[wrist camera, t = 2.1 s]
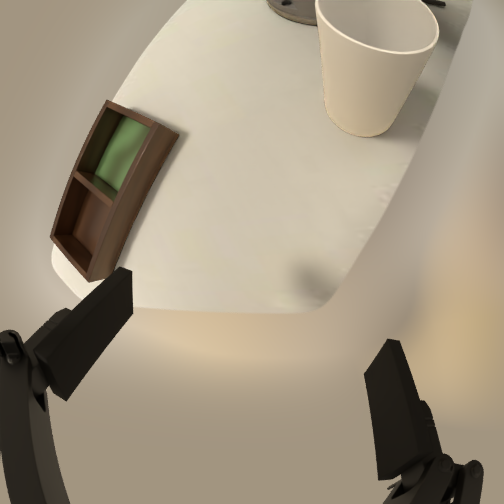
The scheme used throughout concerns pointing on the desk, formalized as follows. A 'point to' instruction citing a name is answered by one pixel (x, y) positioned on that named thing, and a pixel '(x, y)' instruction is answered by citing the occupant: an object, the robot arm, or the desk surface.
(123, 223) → the holder
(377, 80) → the cup
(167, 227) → the desk surface
